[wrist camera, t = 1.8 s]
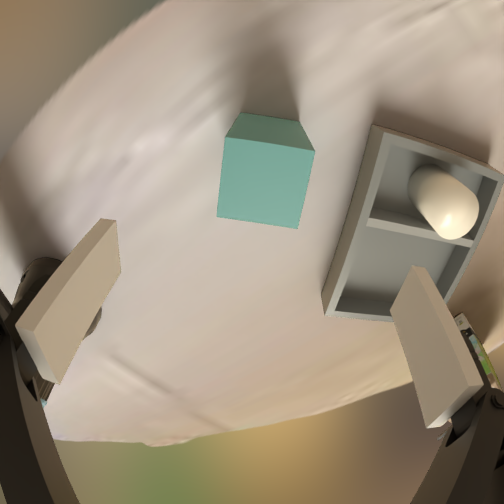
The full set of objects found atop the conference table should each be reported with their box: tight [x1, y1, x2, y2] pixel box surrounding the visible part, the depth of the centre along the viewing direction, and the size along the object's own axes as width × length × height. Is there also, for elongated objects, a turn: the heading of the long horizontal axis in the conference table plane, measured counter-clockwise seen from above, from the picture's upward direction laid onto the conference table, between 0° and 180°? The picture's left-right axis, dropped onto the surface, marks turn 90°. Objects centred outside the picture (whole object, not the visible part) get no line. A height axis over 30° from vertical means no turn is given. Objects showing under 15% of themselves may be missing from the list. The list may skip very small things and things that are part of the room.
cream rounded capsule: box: [408, 164, 479, 240], centre depth 29 cm, size 6×6×7 cm
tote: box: [321, 124, 504, 322], centre depth 35 cm, size 17×23×4 cm
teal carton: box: [217, 113, 315, 229], centre depth 27 cm, size 6×6×12 cm
